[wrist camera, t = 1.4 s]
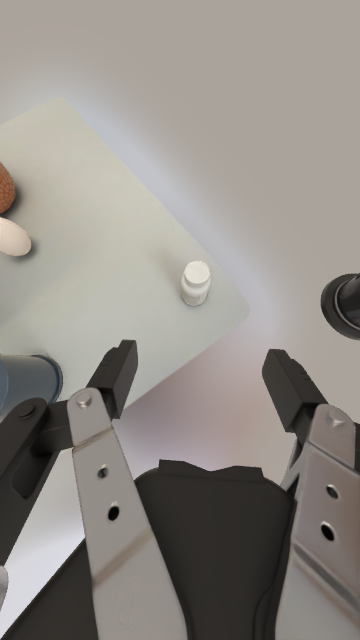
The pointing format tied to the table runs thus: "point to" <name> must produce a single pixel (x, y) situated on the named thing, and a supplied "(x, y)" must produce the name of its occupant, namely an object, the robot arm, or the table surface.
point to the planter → (6, 189)
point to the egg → (13, 239)
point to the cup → (27, 380)
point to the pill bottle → (195, 283)
